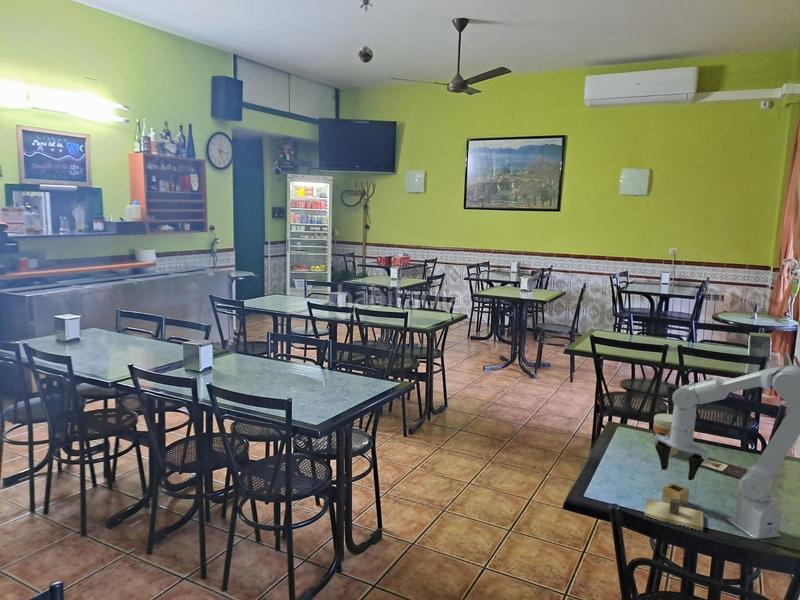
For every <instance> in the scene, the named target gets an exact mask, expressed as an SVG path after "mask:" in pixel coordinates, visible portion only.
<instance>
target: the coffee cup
mask: <svg viewBox="0 0 800 600" xmlns="http://www.w3.org/2000/svg"><path fill="white" fill-rule="evenodd" d="M672 417H673V414H671V413H657V414H655V415H654V416H653V437H654V436H655V435H657V434H659V435H662V436H667V437H670V436H671V427H672ZM657 444H658V443H656V442H654V438H653V443H652V445H653V446H652V447H653V451H654V452H656V453H657V454H658V452H657V450H656V448H655V446H656V445H657ZM678 453H679V449H676V448H673V447H671V450H670V454H669V455H670V456H671V457H672V456H676V455H678ZM670 456H669V457H670Z"/></svg>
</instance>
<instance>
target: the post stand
mask: <svg viewBox="0 0 800 600" xmlns="http://www.w3.org/2000/svg"><path fill="white" fill-rule="evenodd" d="M679 505H680V500H677V499H673V498H671V501H670V504H669V503H667V502H664V501H663V502H662V501H659V500H654V499H650V498H647V499H646V503H645V508H644V514H643V516H644V515H645V516H648V517H650V518H653V519H652V520H654V519H657V520H656V521H658V520H659V522H663V523H666V522H668V523H667V524H671V525H674V524H675V525H674V526H679V525H682V526H681V527H683V526H686V527H685V528H687V527H689V528H688V529H691V528H693V529H692V530H695V529H696V530H695V531H699V530H700V531H699V532H703V531H704V511H701V510H696V509H694V508H693V509H692V508H689V507H685V506H679ZM650 518H649V519H650Z"/></svg>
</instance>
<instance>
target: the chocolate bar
mask: <svg viewBox="0 0 800 600" xmlns="http://www.w3.org/2000/svg"><path fill="white" fill-rule="evenodd" d="M699 468H700V469H701V468H702V469H704V468H705V469H704V470H708V471H711V472H715V473H717V474H721V475H724V476H727V477H731V478H733V477H734V479H737V480H740V479H741V478H742V477H743V476H744V475H745V474H746V473H747V470H748V469H749V468H745V467H740V466H737V465H734V464H731V463H727V462H724V461H720V460H718V459H717V460H716V459H714V458H710V457H709V458H707V459H705V460H704V461H703V462H702V464H701V465H700V467H699Z"/></svg>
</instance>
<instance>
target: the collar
mask: <svg viewBox="0 0 800 600" xmlns="http://www.w3.org/2000/svg"><path fill="white" fill-rule="evenodd" d="M689 495H690V489H689V488H686V487H684V486H682V485H679V484H676V483H674V482H671V483H668V484H666V485H664V486H663V487H662V496H661V502H662V501H663V502H664V503H668V504H670V501H671V498H673V499H677V500H680V505H679V506H681V507H684V505H686V504H687V503H689Z"/></svg>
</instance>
